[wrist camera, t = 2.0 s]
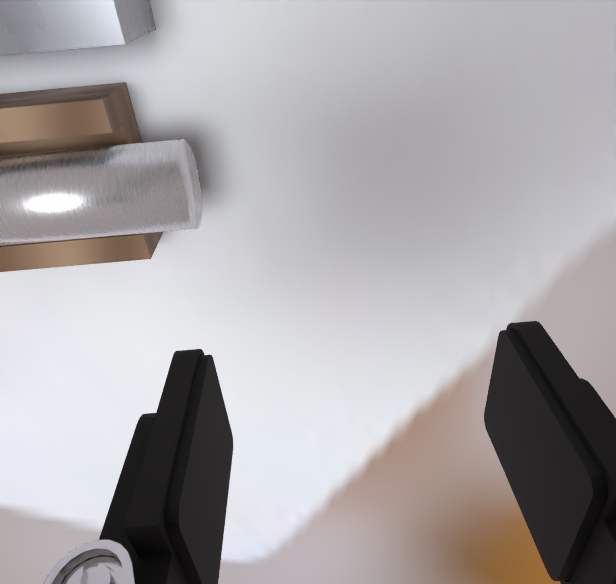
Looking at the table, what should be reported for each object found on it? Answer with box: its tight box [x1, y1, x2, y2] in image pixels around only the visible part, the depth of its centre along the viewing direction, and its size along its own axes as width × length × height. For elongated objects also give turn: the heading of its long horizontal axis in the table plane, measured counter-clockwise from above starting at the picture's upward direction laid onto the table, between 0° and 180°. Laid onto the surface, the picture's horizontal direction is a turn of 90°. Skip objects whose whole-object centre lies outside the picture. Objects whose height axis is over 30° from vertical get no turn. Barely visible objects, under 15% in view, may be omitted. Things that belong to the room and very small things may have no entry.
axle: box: [0, 139, 202, 246], centre depth 22 cm, size 14×4×4 cm, turn 95°
